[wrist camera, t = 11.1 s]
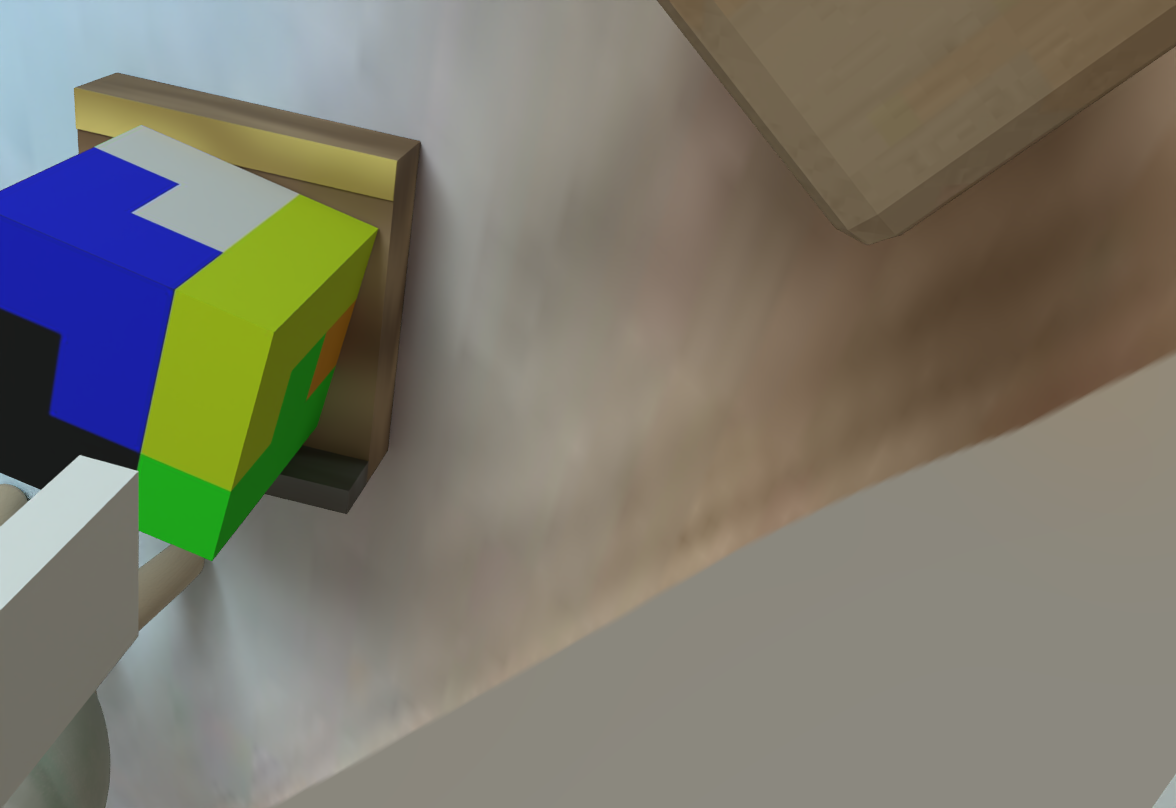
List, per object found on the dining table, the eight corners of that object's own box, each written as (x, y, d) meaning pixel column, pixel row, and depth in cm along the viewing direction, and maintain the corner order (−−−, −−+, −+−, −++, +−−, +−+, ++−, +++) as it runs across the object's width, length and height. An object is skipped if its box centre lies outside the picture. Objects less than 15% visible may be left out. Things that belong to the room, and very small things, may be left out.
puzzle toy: (141, 124, 42) (-27, 203, 34) (378, 228, 43) (274, 331, 34) (103, 335, 47) (-51, 451, 38) (317, 426, 48) (211, 561, 39)
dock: (117, 72, 45) (36, 101, 40) (420, 141, 44) (376, 178, 39) (126, 387, 52) (60, 443, 47) (387, 450, 51) (346, 514, 46)
